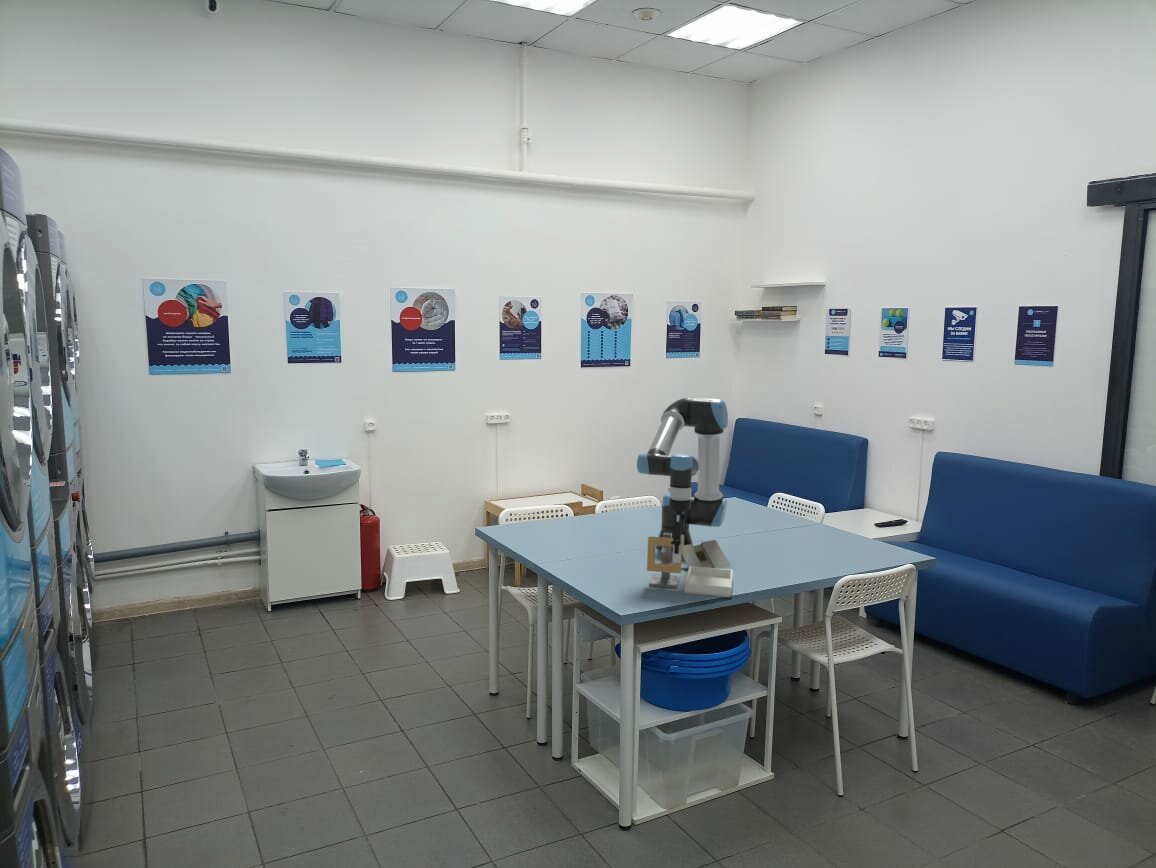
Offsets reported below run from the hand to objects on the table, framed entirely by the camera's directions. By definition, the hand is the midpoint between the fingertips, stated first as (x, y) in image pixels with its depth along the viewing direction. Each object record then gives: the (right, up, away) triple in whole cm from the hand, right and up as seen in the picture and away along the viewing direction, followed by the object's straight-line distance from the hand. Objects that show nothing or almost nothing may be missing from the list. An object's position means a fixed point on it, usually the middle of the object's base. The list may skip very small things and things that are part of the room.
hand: (678, 557), depth 289 cm
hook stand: (-4, -10, +4) cm, 12 cm away
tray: (+12, -11, +3) cm, 16 cm away
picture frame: (-5, -5, +2) cm, 7 cm away
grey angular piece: (+13, -8, +25) cm, 30 cm away
